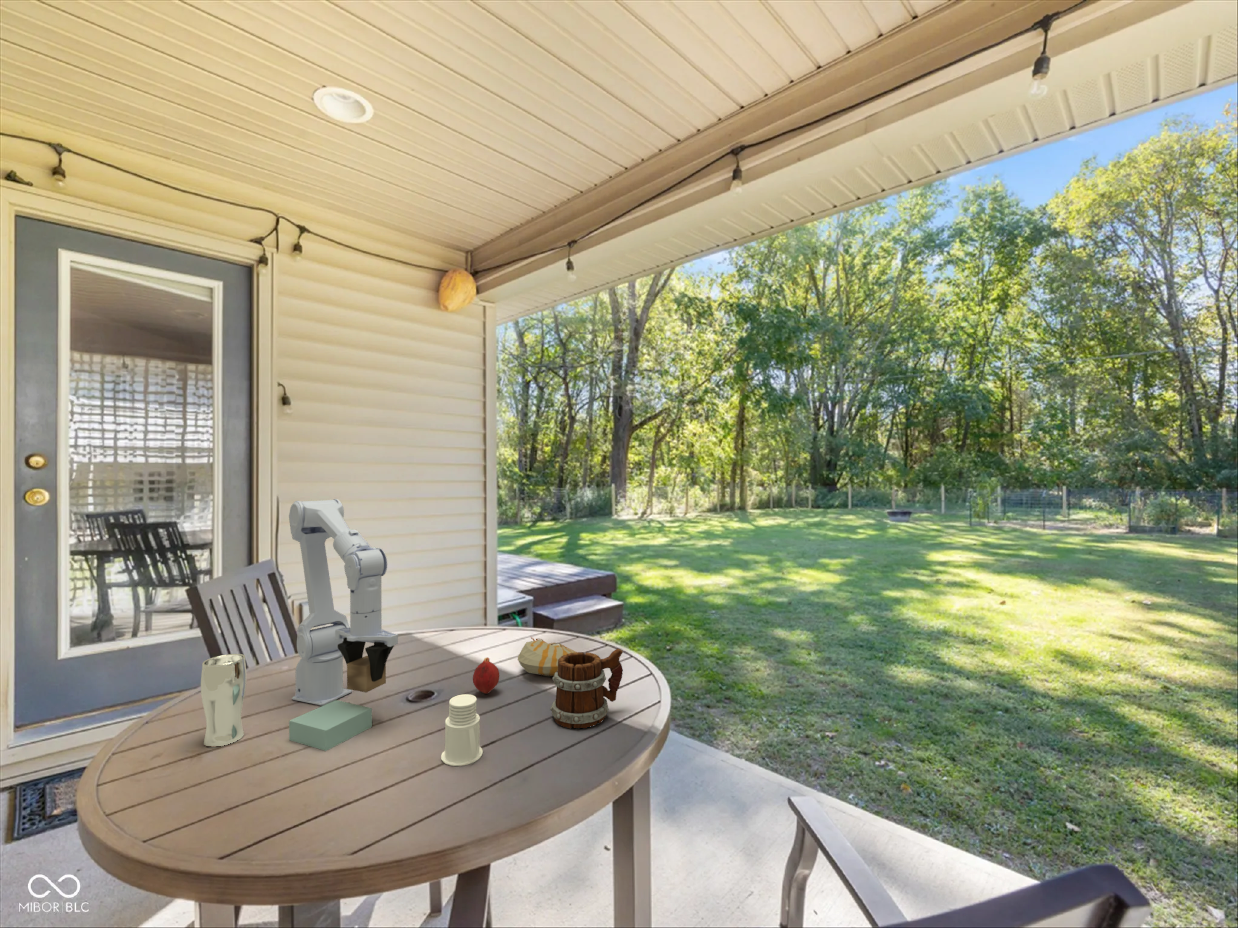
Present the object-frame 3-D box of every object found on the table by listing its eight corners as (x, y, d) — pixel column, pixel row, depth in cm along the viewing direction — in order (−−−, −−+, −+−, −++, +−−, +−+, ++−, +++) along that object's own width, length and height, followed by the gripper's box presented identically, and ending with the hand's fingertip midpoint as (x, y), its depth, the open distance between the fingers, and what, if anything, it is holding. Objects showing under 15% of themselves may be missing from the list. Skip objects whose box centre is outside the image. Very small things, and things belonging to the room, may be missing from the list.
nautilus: (509, 661, 144) (564, 658, 149) (522, 686, 124) (585, 681, 129) (510, 631, 145) (565, 628, 150) (523, 651, 125) (586, 647, 130)
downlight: (432, 754, 96) (433, 698, 96) (468, 740, 101) (469, 686, 101) (454, 773, 90) (455, 714, 90) (491, 758, 95) (492, 701, 95)
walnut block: (347, 688, 108) (347, 663, 108) (367, 679, 112) (366, 655, 113) (366, 692, 106) (366, 666, 106) (385, 682, 111) (385, 658, 111)
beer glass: (255, 733, 104) (255, 655, 105) (218, 751, 98) (218, 667, 98) (229, 728, 107) (229, 651, 107) (191, 745, 100) (191, 663, 100)
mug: (541, 708, 114) (553, 636, 115) (605, 710, 118) (616, 641, 119) (552, 733, 103) (564, 653, 104) (622, 735, 107) (634, 658, 108)
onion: (492, 699, 119) (492, 663, 119) (468, 697, 120) (468, 661, 120) (503, 689, 125) (503, 654, 125) (480, 687, 126) (480, 652, 126)
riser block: (289, 741, 102) (289, 720, 102) (336, 719, 111) (336, 699, 111) (326, 752, 98) (325, 730, 98) (371, 728, 107) (371, 707, 107)
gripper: (322, 611, 108) (322, 680, 108) (378, 618, 103) (378, 690, 103) (351, 603, 115) (351, 668, 115) (405, 609, 110) (405, 676, 109)
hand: (366, 677), depth 109 cm, fingers closed on walnut block, 5 cm apart
